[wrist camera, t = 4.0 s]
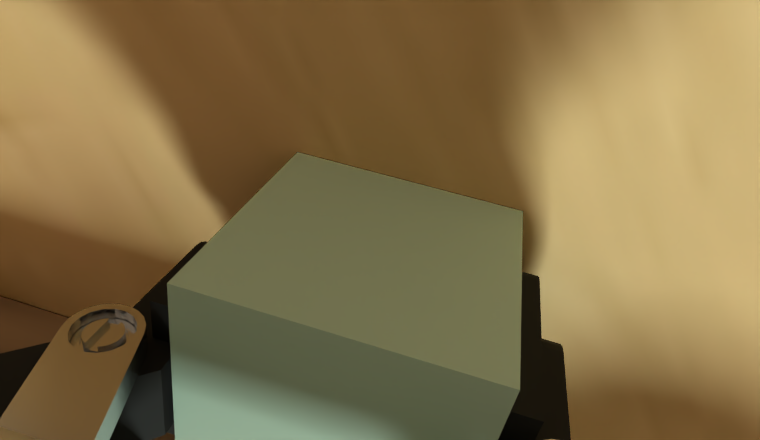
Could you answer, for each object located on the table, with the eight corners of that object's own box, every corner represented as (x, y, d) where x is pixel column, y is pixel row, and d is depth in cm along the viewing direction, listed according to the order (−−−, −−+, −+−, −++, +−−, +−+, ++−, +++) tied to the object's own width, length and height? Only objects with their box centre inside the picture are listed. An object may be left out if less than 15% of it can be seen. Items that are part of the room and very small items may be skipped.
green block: (297, 152, 12) (167, 283, 7) (523, 210, 11) (520, 389, 7) (281, 321, 14) (177, 490, 10) (463, 376, 14) (435, 580, 9)
